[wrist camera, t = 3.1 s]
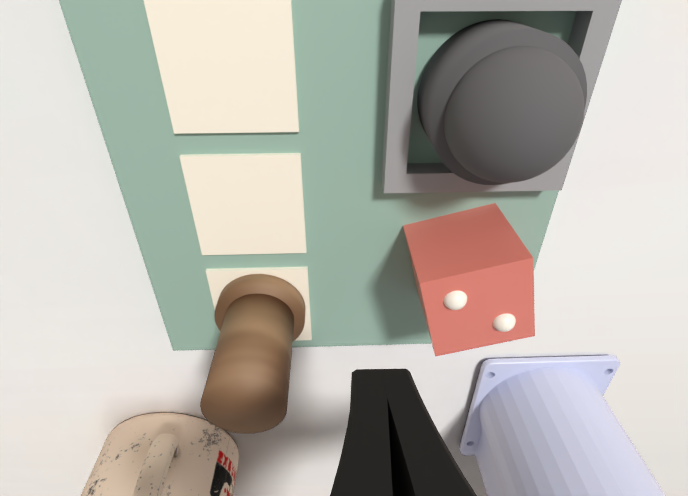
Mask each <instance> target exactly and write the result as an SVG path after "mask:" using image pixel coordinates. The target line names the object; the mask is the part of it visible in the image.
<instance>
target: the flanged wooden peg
mask: <svg viewBox="0 0 688 496" xmlns="http://www.w3.org/2000/svg"><path fill="white" fill-rule="evenodd" d="M305 311H306V307H305V302H304V299H303V297H302V295H301V293H300V292H299V291H298V290H297V288H296V287H294V286H293V285H292V284H291V283H289V282H287V281H286V280H284V279H282V278H279V277H276V276H272V275H267V274H250V275H245V276H242V277H239V278H237V279H235V280H233V281H231V282H230V283H229V284H227V285H226V286H225V287H224V288H223V290H222V292H221V293H220V296H219V299H218V302H217V305H216V308H215V316H214V317H215V322H216V325H217V327H218V329H219V330H220V335H219V339H218V342H217V346H216V350H215V353H214V357H213V360H212V364H211V367H210V371H209V374H208V378H207V381H206V385H205V389H204V392H203V396H202V399H201V405H200V407H201V411H202V413H203V415H204V416H205V418H206V419H207V420H208V421H209V422H211V423H212V424H213V425H215V426H217V427H219V428H221V429H224V430H227V431H230V432H235V433H258V432H263V431H266V430H269V429H271V428H274V427H275V426H277V425H278V424H279V423H280V422H281V421H282V420H283V419H284V417H285V415H286V411H287V401H288V389H289V377H290V366H291V354H292V343H293V341H295V340H296V339H297V338H298V337H299V335H300V334H301V332H302V331H303V328H304V324H305Z"/></svg>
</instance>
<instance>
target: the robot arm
mask: <svg viewBox="0 0 688 496" xmlns="http://www.w3.org/2000/svg"><path fill="white" fill-rule="evenodd" d="M619 365H620V361H619V360H618V358H617V357H616V356H613V355H602V356H567V357H533V358H498V359H488V360H485V361H484V362H483V363H482V366H481V369H480V373H479V377H478V381H477V384H476V388H475V392H474V395H473V399H472V403H471V406H470V410H469V414H468V418H467V421H466V425H465V429H464V432H463V436H462V440H461V444H460V452H461V454H462V455H466V456H468V455H475V456H476V459H477V463H478V466H479V469H480V472H481V476H482V479H483V482H484V486H485V489H486V492H487V496H666V495H665V493H664V492H663V490H662V489H661V487H660V486H659V484H658V482H657V481H656V479H655V478H654V476H653V475H652V473H651V471H650V470H649V468H648V467H647V465H646V463H645V462H644V460H643V459H642V457H641V456H640V454H639V452H638V451H637V449H636V448H635V446H634V444H633V443H632V441H631V440H630V438H629V437H628V435H627V433H626V432H625V430H624V429H623V427H622V425H621V424H620V422H619V421H618V419H617V418H616V416H615V414H614V413H613V411H612V410H611V408H610V407H609V405H608V403H607V402H606V400H605V399H604V397H603V395H604V393H605V391H606V389H607V388H608V386H609V384H610V382H611V380H612V378H613V376H614V375H615V373H616V371H617V369H618V367H619ZM330 496H477V495H476V494H475V492H474V491H473V489H472V488H471V486H470V485H469V483H468V481H467V480H466V478H465V477H464V475H463V473H462V472H461V470H460V468H459V467H458V465H457V463H456V462H455V460H454V458H453V457H452V455H451V453H450V451H449V450H448V448H447V446H446V444H445V443H444V441H443V439H442V437H441V436H440V434H439V432H438V430H437V428H436V426H435V425H434V423H433V421H432V419H431V417H430V415H429V413H428V411H427V409H426V407H425V405H424V403H423V401H422V399H421V397H420V394H419V392H418V390H417V388H416V385H415V383H414V381H413V378H412V376H411V373H410V372H409V371H408V370H407V369H362V370H355V371H354V372H352V381H351V403H350V414H349V420H348V426H347V431H346V435H345V440H344V445H343V449H342V454H341V458H340V462H339V466H338V469H337V473H336V476H335V480H334V484H333V487H332V491H331V494H330Z"/></svg>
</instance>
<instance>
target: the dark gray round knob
mask: <svg viewBox="0 0 688 496" xmlns="http://www.w3.org/2000/svg"><path fill="white" fill-rule="evenodd" d="M586 99H587V81H586V74H585V71H584V68H583V65H582V63H581V61H580V59H579V57H578V56H577V54H576V53H575V52H574V50H573V49H572V48H571V47H570V46H569V45H568V44H567V43H566V42H564V41H563V40H561V39H560V38H558V37H556V36H554V35H552V34H549V33H547V32H544V31H541V30H538V29H535V28H532V27H529V26H526V25H523V24H520V23H517V22H514V21H510V20H501V19H494V20H486V21H481V22H477V23H475V24H472V25H469V26H467V27H465V28H463V29H462V30H460V31H458V32H457V33H455V34H454V35H452V36H451V37H450V38H449V39H448V40H446V41H445V42H444V43H443V44H442V45H441V46H440V47H439V48H438V50H437V51H436V52H435V53H434V55H433V56H432V58H431V59H430V61H429V62H428V64H427V66H426V68H425V70H424V73H423V75H422V77H421V81H420V85H419V89H418V97H417V107H418V114H419V119H420V122H421V125H422V127H423V129H424V131H425V133H426V135H427V136H428V138H429V140H430V142H431V143H432V145H433V147H434V149H435V150H436V152H437V154H438V156H439V157H440V159H441V161H442V162H443V163H444V164H445V166H446V167H447V168H448V169H449V170H450V171H451V172H453V173H454V174H456V175H457V176H459V177H460V178H462V179H464V180H466V181H469V182H473V183H476V184H482V185H502V184H507V183H512V182H520V181H525V180H528V179H531V178H534V177H536V176H539V175H541V174H542V173H544V172H546V171H548V170H549V169H551V168H552V167H554V166H555V165H556V164H557V163H558V162H560V161H561V160H562V159H563V158H564V157H565V155H566V154H567V153H568V152H569V150H570V149H571V147H572V146H573V144H574V143H575V141H576V139H577V137H578V135H579V132H580V130H581V127H582V123H583V118H584V110H585V106H586Z"/></svg>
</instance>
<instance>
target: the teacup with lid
mask: <svg viewBox="0 0 688 496" xmlns="http://www.w3.org/2000/svg"><path fill="white" fill-rule="evenodd" d="M238 462H239V452H238V448H237V446H236V444H235V442H234V441H233V439H232V438H231V437H230V436H229V435H228V434H227V433H226V432H225V431H224V430H222V429H221V428H219V427H217V426H215V425H213V424H212V423H210V422H208V421H206V420H203V419H200V418H197V417H194V416H189V415H185V414H178V413H151V414H145V415H140V416H136V417H133V418H131V419H128V420H126V421H124V422H122V423H121V424H119V425H118V426H117V427H115V428H114V429H113V430H112V431H111V432H110V434H109V435H108V437H107V439H106V441H105V443H104V446H103V448H102V450H101V452H100V454H99V457H98V459H97V461H96V463H95V465H94V468H93V470H92V472H91V474H90V476H89V479H88V481H87V483H86V485H85V487H84V490H83V492H82V494H81V496H233V491H234V485H235V480H236V474H237V468H238Z"/></svg>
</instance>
